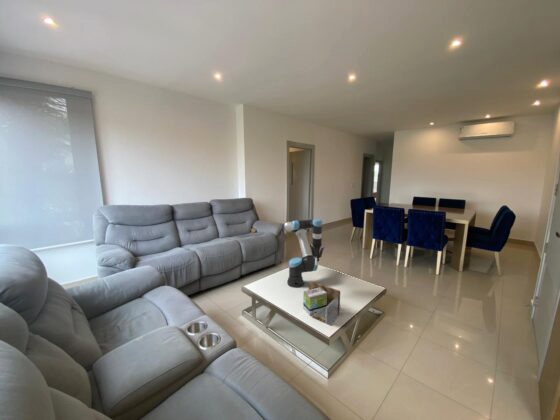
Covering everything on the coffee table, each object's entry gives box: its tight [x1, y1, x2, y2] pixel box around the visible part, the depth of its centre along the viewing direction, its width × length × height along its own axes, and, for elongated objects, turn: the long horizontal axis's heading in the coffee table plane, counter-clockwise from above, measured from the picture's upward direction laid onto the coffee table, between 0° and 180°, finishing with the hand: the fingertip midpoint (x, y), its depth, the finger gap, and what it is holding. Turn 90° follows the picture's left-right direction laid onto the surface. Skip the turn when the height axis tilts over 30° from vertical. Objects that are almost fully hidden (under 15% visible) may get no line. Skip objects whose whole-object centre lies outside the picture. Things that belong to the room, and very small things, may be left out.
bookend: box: [324, 296, 342, 326], centre depth 162 cm, size 4×18×12 cm, turn 141°
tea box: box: [302, 287, 327, 316], centre depth 171 cm, size 15×10×15 cm
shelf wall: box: [308, 280, 341, 324], centre depth 170 cm, size 26×19×16 cm
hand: (316, 264), depth 195 cm, fingers closed
